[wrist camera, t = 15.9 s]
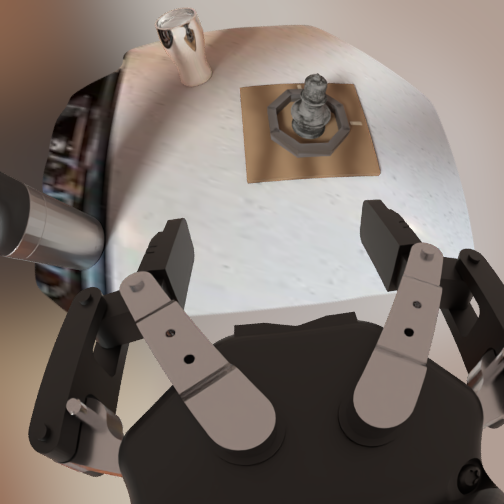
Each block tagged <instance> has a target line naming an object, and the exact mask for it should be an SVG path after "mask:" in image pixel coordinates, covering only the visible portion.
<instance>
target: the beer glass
mask: <svg viewBox="0 0 504 504" xmlns="http://www.w3.org/2000/svg"><path fill="white" fill-rule="evenodd" d="M155 27H156V30H157V33H158V36H159V39H160V42H161V44H162V46H163V48H164V50H165V51H166V53H167V54H168V56H169V57H170V58H171V60H172V61H173V62H174V64H175V65H176V66H177V68H178V70H179V75H180V80H181V82H182V84H183V85H185V86H189V87H194V86H199V85H201V84H203V83H205V82H207V81H208V80H209V79H210V77H211V75H212V70H211V68H210V66H209V64H208V63H207V61H206V57H205V39H204V33H203V29H202V26H201V23H200V21H199V18H198V16H197V13H196V11H195V10H194V9H192V8H178V9H174V10H171V11H169V12H167V13H165V14H164V15H162V16H160V17H159V18H158V19H157V20H156V22H155Z"/></svg>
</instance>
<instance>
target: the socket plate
mask: <svg viewBox="0 0 504 504" xmlns="http://www.w3.org/2000/svg"><path fill="white" fill-rule="evenodd" d="M304 85H305V83H301V84H277V85H263V86H252V87H242V88H240V96H241V108H242V121H243V134H244V146H245V159H246V172H247V182H248V183H258V182H269V181H281V180H294V179H309V178H328V177H353V176H379V175H380V169H379V165H378V161H377V157H376V153H375V150H374V146H373V142H372V139H371V136H370V132H369V129H368V126H367V122H366V119H365V116H364V113H363V110H362V107H361V104H360V101H359V98H358V95H357V93H356V90H355V87H354V84H335V83H327V89H326V95H327V101H326V103H325V104H326V105H327V106H328V108H329V110H330V112H331V118H330V121H329V122H328V124H326V125H325V131H324V133H323V134H322V135H321V136H320V137H318V138H315V139H306V138H302V137H300V136H299V135H297V134H296V133H295V132H294V130H293V128H292V119H293V118H292V115H291V107H292V105H293V103H294V102H295V101H297V100H298V99H301V96H300V94H301V91H302V90H303V89H304Z"/></svg>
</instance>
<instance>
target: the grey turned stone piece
mask: <svg viewBox="0 0 504 504" xmlns="http://www.w3.org/2000/svg"><path fill="white" fill-rule="evenodd" d="M326 89H327V81H326V80H325V79H324V77H322V76H320V75H319V74H318V73H317V74H313V75H310V76H308V77H307V78H306V79H305V85H304V89H303V90H302V91H301V94H300V96H301V99H298V100H297V101H295V102H294V103H293V105H292V107H291V115H292V118H293V119H292V128H293V130H294V132H295V133H296V134H297V135H299V136H300V137H302V138H306V139H315V138H318V137H320V136H321V135H322V134H323V133H324V131H325V125H326V124H328V122H329V121H330V118H331V112H330V110H329V108H328V106H327V105H326V104H325V103H326V101H327V95H326Z"/></svg>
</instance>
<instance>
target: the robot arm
mask: <svg viewBox="0 0 504 504" xmlns="http://www.w3.org/2000/svg"><path fill="white" fill-rule="evenodd" d="M360 238H361V242H362V244H363V246H364V247H365V249H366V251H367V253H368V255H369V257H370V259H371V260H372V262H373V264H374V266H375V268H376V270H377V272H378V274H379V276H380V278H381V280H382V282H383V284H384V286H385V288H386V290H387V292H389V291H395V290H397V294H396V297H395V300H394V302H393V305H392V308H391V310H390V313H389V316H388V318H387V321H386V323H385V326H384V328H383V327H381V326H379V325H377V324H374V323H370V322H365V321H359V320H357V317H356V314H355V312H349V313H343V314H336V315H329V316H325V317H322V318H319V319H316V320H313V321H310V322H308V323H305V324H302V325H298V326H290V325H280V324H270V323H258V324H246V325H235V326H234V335H231V336H228V337H225V338H223V339H221V340H219V341H217V342H216V343H214V344H212V343H211V342H210V341H209V340H208V339H207V338H206V336H205V335H204V334H203V333H202V332H201V331H200V329H199V328H198V327H197V326H196V325H195V324H194V322H193V321H192V320H191V319H190V317H189V316H188V315H187V314H186V313H185V311H184V306H185V301H186V296H187V291H188V286H189V281H190V276H191V272H192V267H193V263H194V248H193V244H192V240H191V237H190V233H189V229H188V226H187V222H186V220H185V218H180V219H173V220H168V221H167V223H166V226H165V228H164V230H163V232H158V233H157V234H156V235H155V236H154V237H153V238H152V239H151V241H150V243H149V246H148V248H147V250H146V252H145V253H146V254H145V255H144V257H143V259H142V262H141V264H140V266H139V269H138V271H137V272H136V273H133V274H131V275H129V276H128V277H127V278H125V279H124V280H123V282H122V283H121V285H120V290H118V291H116V292H113V293H109V294H106V295H103V294H102V293H101V291H100V290H99V289H98V288H96V287H90V288H87V289H84V290H83V291H81V292H80V293H79V294H77V296H76V297H75V298H74V300H73V302H72V304H71V306H70V308H69V311H68V313H67V315H66V318H65V320H64V322H63V325H62V327H61V329H60V332H59V335H58V337H57V339H56V342H55V345H54V347H53V350H52V353H51V356H50V358H49V361H48V364H47V367H46V370H45V373H44V376H43V379H42V382H41V385H40V389H39V392H38V395H37V399H36V402H35V406H34V410H33V414H32V418H31V422H30V426H29V433H28V435H29V441H30V444H31V445H32V447H33V448H34V450H36V451H37V452H39V453H40V454H42V455H44V456H46V457H48V458H50V459H52V460H53V461H55V462H56V463H59V464H61V465H63V466H65V467H68V468H70V469H72V470H75V471H77V472H82V473H85V474H87V475H90V476H93V477H98V476H101V475H103V474H108V475H112V476H117V477H123V479H124V482H125V484H126V487H127V490H128V493H129V497H130V501H131V504H504V493H503V492H502V491H501V490H500V489H499V488H498V487H497V486H496V485H495V484H494V483H493V481H492V480H491V479H490V478H489V476H488V475H487V473H486V472H485V470H484V468H483V465H482V461H481V437H482V430H483V429H484V428H486V427H490V428H498V427H500V426H502V425H503V424H504V284H503V283H502V281H501V280H500V279H499V277H498V276H497V274H496V273H495V271H494V270H493V269H492V267H491V266H490V265H489V263H488V262H487V260H486V259H485V258H484V257H483V256H482V255H481V254H480V253H479V252H477V251H475V250H472V249H463V250H461V251H460V253H459V256H458V259H455V258H447V257H443V254H442V252H441V251H440V250H439V249H438V248H437V247H435V246H433V245H431V244H428V243H422V242H421V241H420V239H419V238H418V237H417V236H416V234H415V233H414V232H413V230H412V229H411V228H409V226H408V224H407V223H406V222H405V221H404V219H403V218H402V217H401V216H400V215H399V214H398V213H396V212H394V211H393V210H391V209H388V208H387V207H386V206H385V204H384V203H383V202H382V201H381V200H365V201H364V202H363V206H362V217H361V226H360ZM103 247H104V231H103V228H102V225H101V223H100V222H99V221H98V220H97V219H96V218H95V217H92V216H90V215H88V214H86V213H84V212H82V211H80V210H78V209H76V208H73V207H71V206H69V205H67V204H65V203H63V202H61V201H59V200H57V199H55V198H52V197H50V196H48V195H46V194H44V193H42V192H40V191H38V190H36V189H34V188H32V187H30V186H27V185H25V184H24V183H22V182H19V181H17V180H15V179H13V178H11V177H9V176H7V175H6V174H4V173H2V172H0V256H5V257H10V258H15V259H21V260H26V261H31V262H37V263H42V264H48V265H53V266H59V267H65V268H71V269H77V270H86V269H89V268H90V267H92V266H93V265H94V264H95V263H96V262H97V261H98V259H99V258H100V256H101V253H102V251H103ZM473 296H474V298H475V300H476V301H477V303H478V305H479V308H480V315H479V318H478V317H477V315H476V313H475V311H474V309H473V308H472V306H471V304H470V301H471V299H472V297H473ZM439 308H440V309H441V311H442V313H443V315H444V317H445V319H446V322H447V324H448V326H449V328H450V330H451V333H452V335H453V337H454V340H455V342H456V344H457V347H458V349H459V352H460V354H461V356H462V359H463V362H464V364H465V367H466V369H467V372H468V377H467V384H465V383H464V382H462V381H461V380H460V379H458V378H457V377H455V376H454V375H452V374H451V373H450V372H448V371H447V370H445V369H444V368H442V367H441V366H439V365H438V364H437V363H435V362H434V361H432V360H431V359H429V358H428V355H429V351H430V347H431V343H432V339H433V335H434V330H435V325H436V321H437V317H438V311H439ZM143 338H144V339H145V341H146V343H147V344H148V346H149V348H150V349H151V351H152V353H153V354H154V356H155V358H156V359H157V361H158V362H159V364H160V365H161V367H162V369H163V370H164V372H165V374H166V375H167V376H168V378H169V380H170V381H171V383H172V384H173V385H172V386H171V387H170V388H169V389H168V390H167V391H166V392H165V393H164V394H163V395H162V396H161V397H160V398H159V400H158V401H157V402H156V403H155V404H154V405H153V406H152V407H151V408H150V409H149V410H148V411H147V412H146V413H145V414H144V415H143V416H142V417H141V418H140V419H139V420H138V421H137V422H136V423H135V424H134V425H133V426H132V427H131V428H130V429H129V430H128V431H127V432H126V434H125V436H124V434H123V426H122V422H121V420H120V418H119V417H118V416H117V415H116V408H117V402H118V396H119V390H120V385H121V380H122V374H123V369H124V365H125V360H126V355H127V351H128V346H129V343H130V342H133V341H136V340H140V339H143ZM95 340H96V341H97V342H96V345H95V348H94V352H93V346H94V343H95Z"/></svg>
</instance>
